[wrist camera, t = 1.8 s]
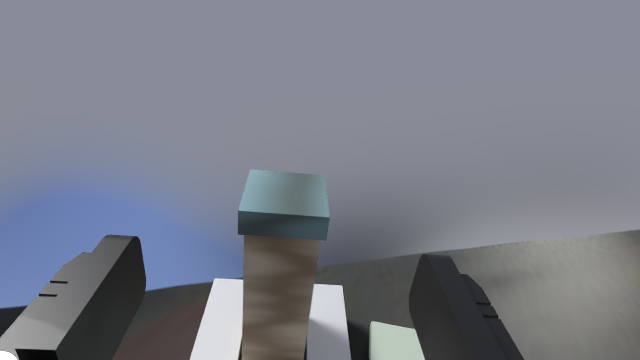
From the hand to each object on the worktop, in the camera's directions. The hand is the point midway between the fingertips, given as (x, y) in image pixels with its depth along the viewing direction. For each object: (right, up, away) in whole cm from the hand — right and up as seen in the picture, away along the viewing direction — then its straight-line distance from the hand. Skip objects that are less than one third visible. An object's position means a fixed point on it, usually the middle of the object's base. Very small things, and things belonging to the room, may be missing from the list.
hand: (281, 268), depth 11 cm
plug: (-3, -13, +20) cm, 24 cm away
